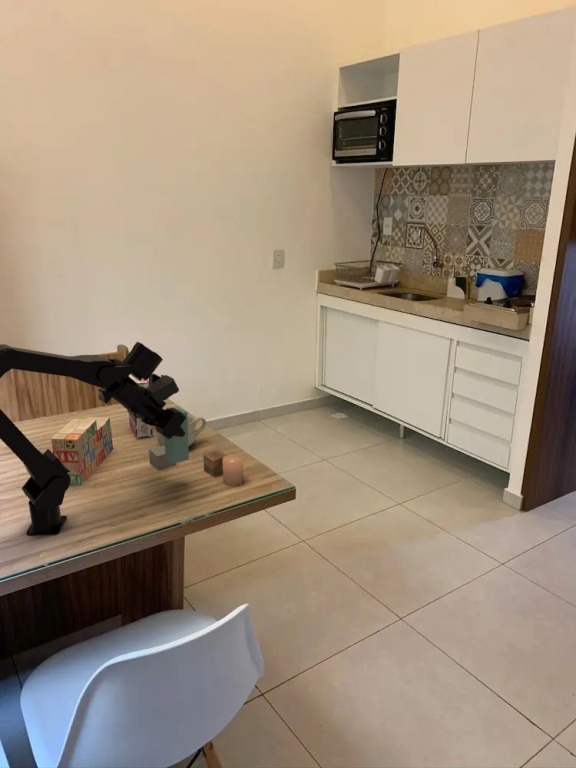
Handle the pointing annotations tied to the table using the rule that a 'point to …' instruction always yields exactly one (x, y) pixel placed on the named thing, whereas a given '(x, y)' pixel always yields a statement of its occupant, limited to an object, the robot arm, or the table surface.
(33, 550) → the table surface
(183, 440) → the teal block
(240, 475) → the peach rounded cylinder
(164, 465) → the gray block
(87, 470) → the stack of blocks
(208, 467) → the walnut cube
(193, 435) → the teacup
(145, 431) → the candy bar box
